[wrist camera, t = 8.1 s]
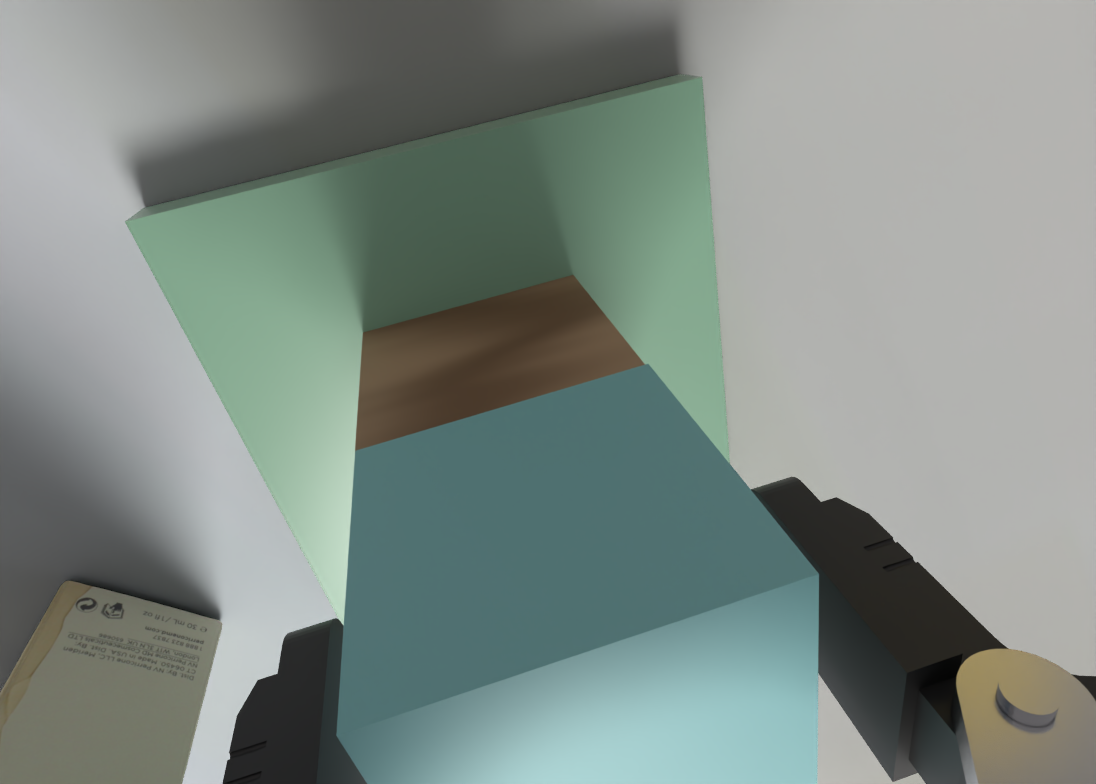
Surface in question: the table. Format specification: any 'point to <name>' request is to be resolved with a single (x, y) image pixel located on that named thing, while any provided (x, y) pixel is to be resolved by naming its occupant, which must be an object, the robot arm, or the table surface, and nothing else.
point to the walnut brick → (483, 358)
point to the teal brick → (574, 603)
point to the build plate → (439, 272)
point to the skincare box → (106, 691)
